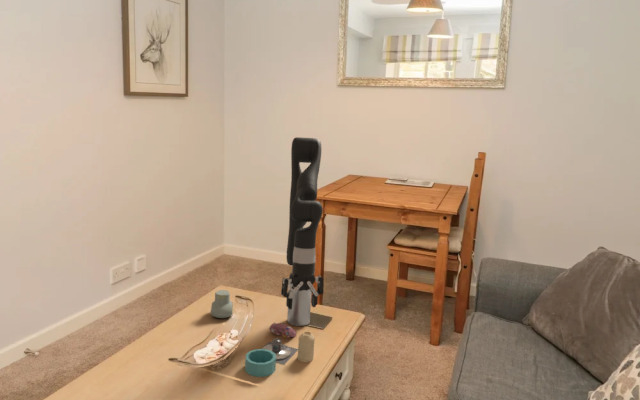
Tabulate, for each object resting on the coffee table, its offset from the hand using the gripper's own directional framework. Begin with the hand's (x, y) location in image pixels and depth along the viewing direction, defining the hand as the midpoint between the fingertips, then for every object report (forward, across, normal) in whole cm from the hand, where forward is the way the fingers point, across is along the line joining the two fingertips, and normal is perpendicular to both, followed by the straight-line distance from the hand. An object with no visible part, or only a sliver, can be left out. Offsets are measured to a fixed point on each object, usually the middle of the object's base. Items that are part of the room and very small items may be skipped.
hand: (301, 307), depth 174 cm
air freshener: (+17, +16, -48) cm, 53 cm away
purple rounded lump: (+19, -2, -23) cm, 30 cm away
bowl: (+22, +13, -3) cm, 25 cm away
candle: (+21, -4, -5) cm, 22 cm away
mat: (+20, +4, -11) cm, 24 cm away
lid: (+20, +4, -11) cm, 23 cm away
